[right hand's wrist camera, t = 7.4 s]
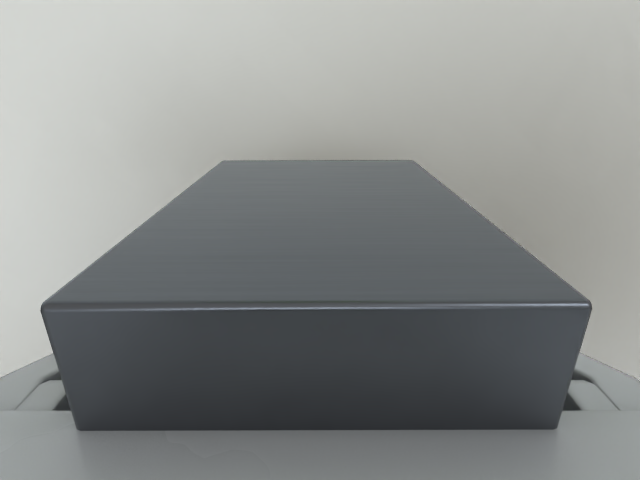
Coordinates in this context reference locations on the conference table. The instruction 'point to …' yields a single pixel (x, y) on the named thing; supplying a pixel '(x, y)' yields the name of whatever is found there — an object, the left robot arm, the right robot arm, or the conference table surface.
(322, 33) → the conference table surface
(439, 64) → the conference table surface
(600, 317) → the conference table surface
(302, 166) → the bar
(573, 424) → the right robot arm
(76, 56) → the conference table surface
